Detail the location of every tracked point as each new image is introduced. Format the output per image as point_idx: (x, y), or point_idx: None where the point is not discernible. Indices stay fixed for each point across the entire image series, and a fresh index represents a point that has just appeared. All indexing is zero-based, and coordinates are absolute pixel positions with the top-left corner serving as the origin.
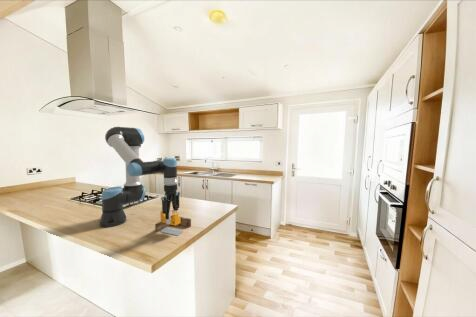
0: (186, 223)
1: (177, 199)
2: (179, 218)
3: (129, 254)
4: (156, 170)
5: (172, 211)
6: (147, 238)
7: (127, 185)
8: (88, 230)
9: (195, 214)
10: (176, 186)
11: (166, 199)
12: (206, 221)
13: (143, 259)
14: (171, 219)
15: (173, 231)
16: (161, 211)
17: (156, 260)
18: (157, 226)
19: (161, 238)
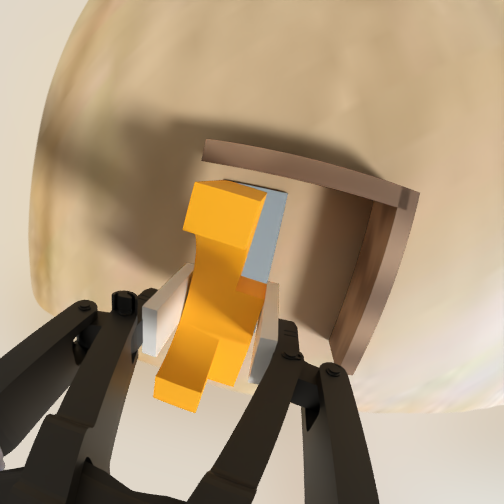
0: (340, 331)
1: (307, 501)
2: (221, 381)
3: (34, 191)
4: None
5: (260, 332)
6: (134, 160)
7: None
8: None
9: (497, 288)
10: None
11: (43, 449)
12: (402, 387)
13: (34, 264)
14: (177, 332)
15: (244, 275)
16: (198, 196)
17: (46, 309)
18: (211, 162)
19: (152, 243)
